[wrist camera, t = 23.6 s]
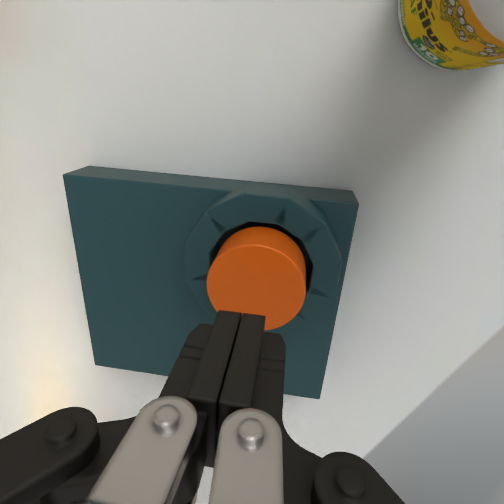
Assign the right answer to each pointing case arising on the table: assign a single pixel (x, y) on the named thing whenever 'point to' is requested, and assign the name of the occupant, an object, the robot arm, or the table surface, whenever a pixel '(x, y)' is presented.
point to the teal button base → (197, 261)
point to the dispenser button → (259, 276)
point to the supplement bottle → (454, 32)
